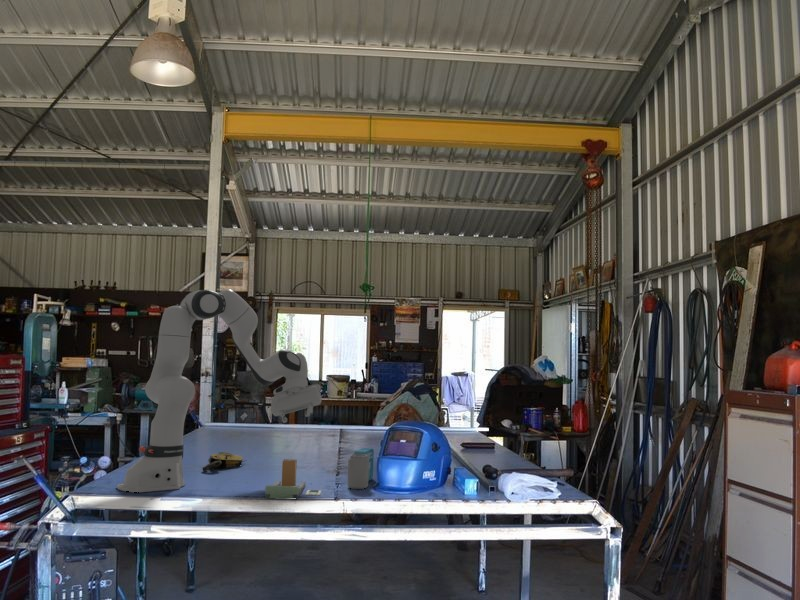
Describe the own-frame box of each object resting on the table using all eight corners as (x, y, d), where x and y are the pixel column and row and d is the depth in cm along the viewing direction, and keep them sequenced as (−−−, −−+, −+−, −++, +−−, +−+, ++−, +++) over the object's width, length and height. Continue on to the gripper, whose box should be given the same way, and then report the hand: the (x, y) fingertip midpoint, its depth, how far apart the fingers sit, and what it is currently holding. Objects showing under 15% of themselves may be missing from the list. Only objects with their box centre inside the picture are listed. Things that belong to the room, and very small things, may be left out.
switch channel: (276, 485, 242) (277, 473, 243) (323, 486, 243) (324, 475, 243) (265, 498, 218) (265, 486, 218) (317, 499, 219) (318, 487, 219)
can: (370, 487, 244) (371, 454, 245) (364, 490, 237) (365, 456, 238) (351, 485, 246) (352, 452, 247) (344, 489, 239) (345, 455, 240)
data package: (364, 484, 250) (365, 451, 251) (352, 483, 251) (353, 451, 252) (372, 479, 261) (373, 448, 263) (361, 478, 263) (363, 447, 264)
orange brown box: (282, 487, 238) (284, 458, 239) (295, 487, 238) (296, 459, 239) (281, 489, 234) (282, 460, 235) (294, 490, 234) (295, 460, 235)
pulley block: (191, 456, 264) (220, 447, 294) (188, 470, 264) (217, 460, 293) (225, 463, 262) (250, 453, 292) (222, 478, 262) (247, 467, 291)
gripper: (323, 386, 263) (324, 416, 254) (276, 399, 267) (275, 429, 257) (317, 378, 259) (317, 407, 250) (269, 391, 262) (268, 421, 253)
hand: (295, 418), depth 254 cm, fingers open, 8 cm apart
